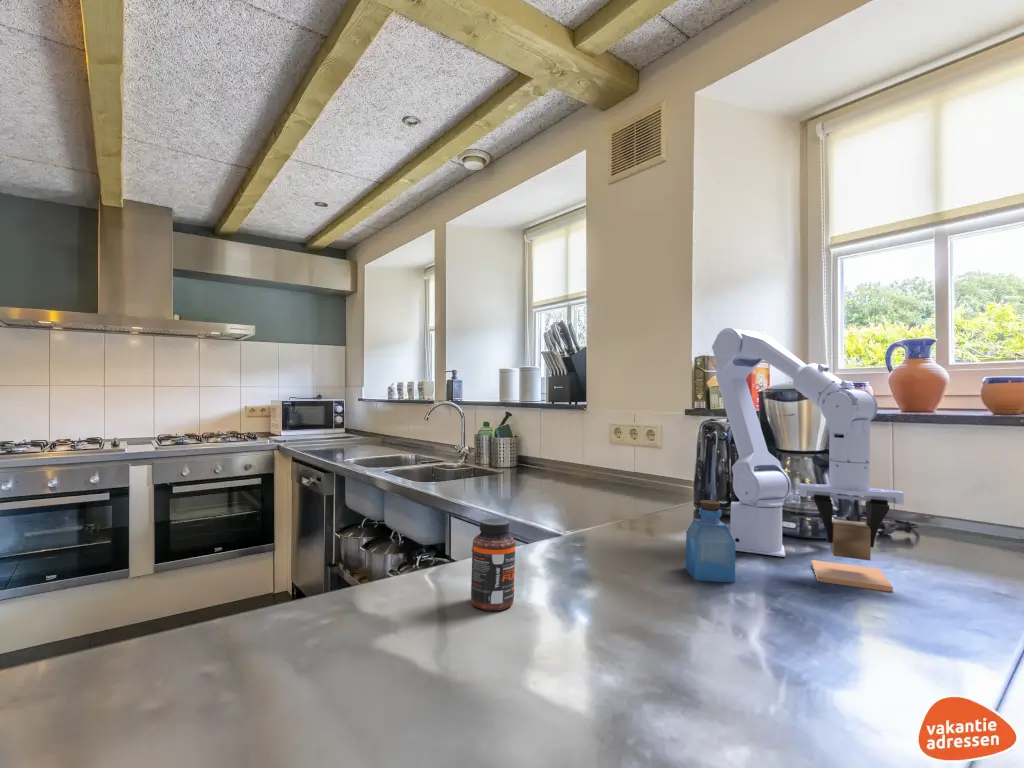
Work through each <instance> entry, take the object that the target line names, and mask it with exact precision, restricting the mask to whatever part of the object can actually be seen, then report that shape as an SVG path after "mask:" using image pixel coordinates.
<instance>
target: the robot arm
mask: <svg viewBox="0 0 1024 768" xmlns="http://www.w3.org/2000/svg"><path fill="white" fill-rule="evenodd" d="M711 350H712V352H713V355H714V356H713V357H714V359H715V362H716V363H715V376H716V377H715V378H716V382H717V385H718V388H719V392H720V396H721V399H722V400H721V401H722V403H723V406H724V409H725V414H726V416H727V420H728V423H729V426H730V427H729V428H730V431H731V434H732V437H733V441H734V443H735V448H736V451H737V454H738V458H737V460H736V461H735V462H734V463H733V465H732V466H731V470H732V475H733V476H732V477H733V479H732V489H733V492H734V494H735V496H736V497H737V498H738V499H739V500H738V501H731V503H730V517H729V518H730V527H729V529H728V530H729V532H730V534H731V536H732V538H733V540H734V541H735V552H745V553H751V554H760V555H768V556H772V557H773V556H774V557H775V556H776V557H782V558H783V557H784V558H785V557H786V552H785V547H784V545H783V505H785V500H786V499H787V498H788V497H789V496H790V494H791V492H792V481H791V479H790V477H789V475H788V474H787V473H786V472H785V470H784V468H783V467H782V463H781V462H780V460H779V459H778V458H777V457H775V456H774V455H773V454H772V453H770V452H769V450H768V446H767V443H766V439H765V436H764V434H763V430H762V426H761V424H760V420H759V417H758V414H757V410H756V408H755V404H754V401H753V398H752V394H751V391H750V388H749V386H748V385H749V384H748V381H747V378H748V376H749V375H750V374H751V373H752V372H753V371H755V369H756V368H757V367H758V366H759V365H760V363H762V362H764V361H765V362H766V363H767V364H769V365H770V366H772V367H774V368H775V369H777V370H778V371H780V372H781V373H783V374H785V375H786V376H788V377H789V378H790V379H792V380H793V381H792V383H793V388H794V389H795V390H796V391H797V392H798V393H800V394H802V395H803V396H804V397H806V398H807V399H808V400H810V401H811V402H812V403H813V404H814V405H817V406H818V407H819V408H820V410H821V414H822V416H823V418H824V419H825V420H826V422H827V430H828V431H829V433H828V434H829V439H828V440H829V443H828V445H829V446H828V447H829V449H828V450H829V453H828V454H829V455H828V456H829V457H828V458H829V461H828V462H829V464H828V465H829V466H828V467H829V470H828V471H829V474H828V479H829V480H828V481H829V484H823V483H822V484H820V483H799V485H798V487H799V490H798V491H799V493H798V494H799V496H800V497H806V498H807V497H812V499H813V502H814V504H815V506H816V507H817V510H818V513H819V515H820V518H821V521H822V524H823V526H824V527H823V528H824V531H825V538H826V539H825V540H826V541H827V543H829V544H830V543H833V531H832V519H833V507H834V504H833V502H832V499H838V500H839V499H841V500H850V501H861V502H862V501H863V502H864V501H865V512H866V513H865V514H866V515H865V517H866V524H867V525H868V527H869V528H870V529H871V548H874V546H875V545H874V544H875V540H876V537H877V533H878V531H879V529H880V527H881V524H882V522H883V520H884V519H885V517H886V516H887V514H888V513H889V511H890V505H889V504H896V505H903V506H904V504H905V493H904V491H901V490H894V489H892V490H891V489H885V488H884V489H883V488H876V487H875V488H874V487H871V421H872V420H873V419H874V418H875V417H876V415H877V413H878V408H879V407H878V406H879V405H878V401H877V399H876V398H875V396H874V395H873V394H871V392H870V391H869V390H867V389H863V388H854V389H853V386H852V382H850V381H848V380H842V379H841V378H839V377H838V376H836V375H835V374H833V373H832V372H830V371H829V370H830V369H831V368H830V366H828V365H826V364H823V363H820V364H818V363H809V364H806V363H805V362H804V361H802V360H801V359H800V358H799V357H797V356H796V355H794V354H793V353H792V352H790V351H789V350H788V349H787V348H785V347H784V346H782V345H781V344H780V343H779V342H778V341H776V340H775V338H774V337H772V336H770V335H767V333H766V332H764V331H762V330H761V331H760V330H746V329H745V330H744V329H736V328H733V327H726V328H723V329H722V330H720V331H719V333H718V334H716V337H715V340H714V341H713V344H712V346H711Z"/></svg>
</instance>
